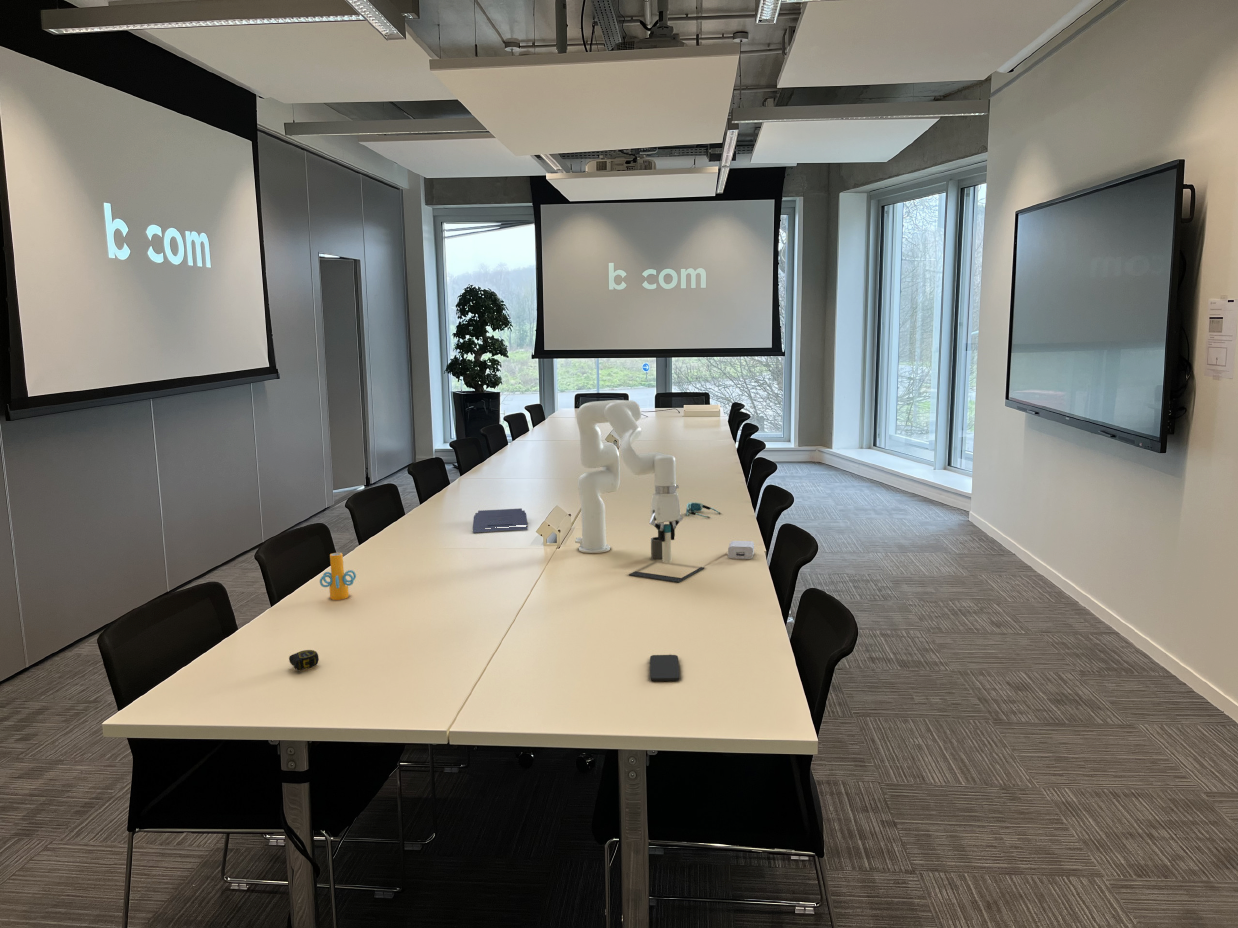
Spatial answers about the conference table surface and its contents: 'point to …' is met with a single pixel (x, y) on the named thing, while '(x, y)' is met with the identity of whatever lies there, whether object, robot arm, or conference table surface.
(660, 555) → the pen cup
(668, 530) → the marker
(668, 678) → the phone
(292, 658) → the tape measure
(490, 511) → the dark grey flat slab
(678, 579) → the mat
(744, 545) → the charger
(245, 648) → the conference table surface
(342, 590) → the cylinder
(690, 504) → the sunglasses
